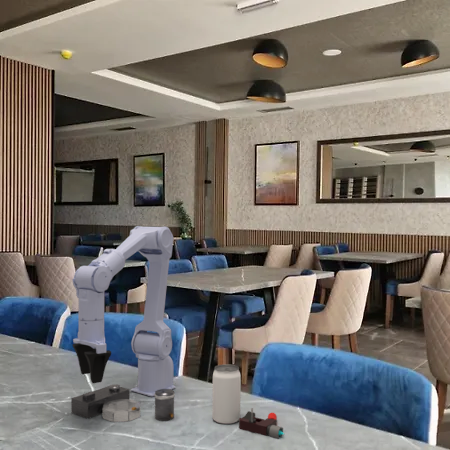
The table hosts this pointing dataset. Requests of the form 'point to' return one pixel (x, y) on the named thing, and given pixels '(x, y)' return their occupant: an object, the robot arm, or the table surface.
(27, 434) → the table surface
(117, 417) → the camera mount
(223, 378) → the can
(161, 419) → the lens
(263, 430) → the toy gun
